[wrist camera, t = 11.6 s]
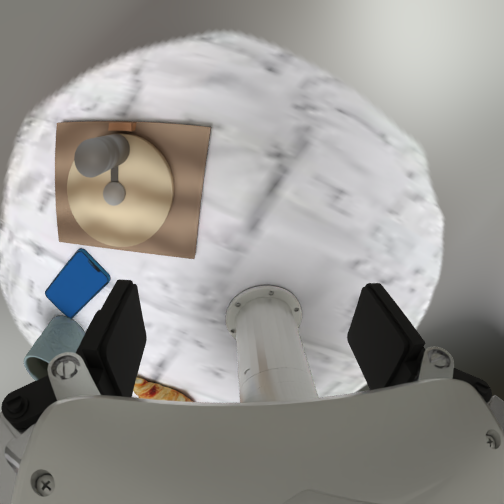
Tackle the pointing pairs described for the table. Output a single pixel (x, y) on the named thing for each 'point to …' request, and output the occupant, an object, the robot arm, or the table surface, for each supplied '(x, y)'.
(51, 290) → the smartphone
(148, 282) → the table surface
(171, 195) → the dial
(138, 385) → the croissant
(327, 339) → the table surface
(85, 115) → the table surface
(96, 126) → the board
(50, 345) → the grey-green cup
